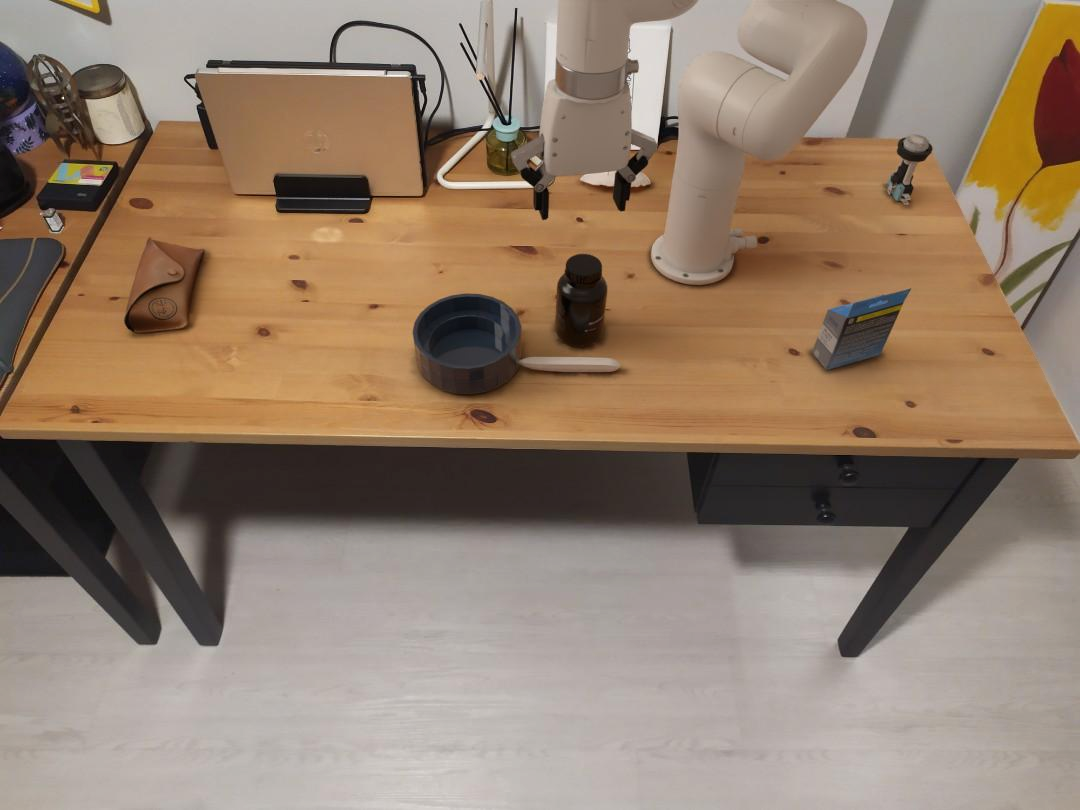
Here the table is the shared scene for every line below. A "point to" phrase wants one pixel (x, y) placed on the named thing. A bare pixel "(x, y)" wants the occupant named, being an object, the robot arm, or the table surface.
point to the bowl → (467, 343)
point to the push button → (908, 165)
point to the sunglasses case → (162, 288)
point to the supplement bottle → (581, 301)
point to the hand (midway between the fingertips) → (580, 209)
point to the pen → (571, 364)
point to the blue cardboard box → (857, 330)
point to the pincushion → (609, 178)
